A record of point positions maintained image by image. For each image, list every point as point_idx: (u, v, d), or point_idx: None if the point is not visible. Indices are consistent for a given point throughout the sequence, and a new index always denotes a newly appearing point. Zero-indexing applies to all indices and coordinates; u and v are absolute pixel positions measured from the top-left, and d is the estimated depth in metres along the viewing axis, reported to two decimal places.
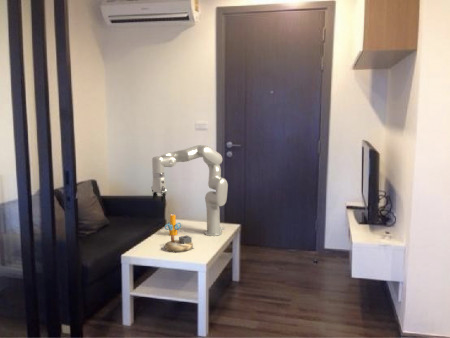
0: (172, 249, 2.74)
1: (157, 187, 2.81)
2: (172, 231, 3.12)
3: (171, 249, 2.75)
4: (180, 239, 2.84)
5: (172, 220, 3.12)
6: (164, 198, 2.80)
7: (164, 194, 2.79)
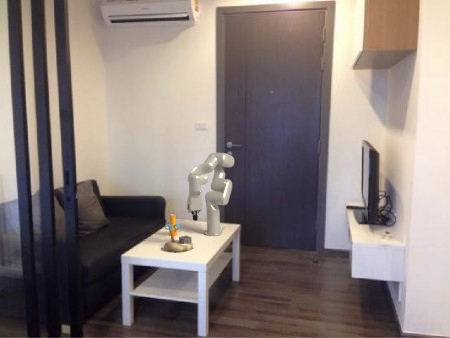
0: (172, 249, 2.74)
1: (199, 204, 2.87)
2: (172, 231, 3.12)
3: (171, 249, 2.75)
4: (180, 239, 2.84)
5: (172, 220, 3.12)
6: None
7: None
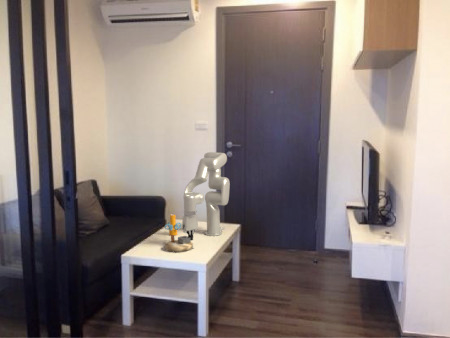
0: (172, 249, 2.74)
1: (194, 224, 2.86)
2: (172, 231, 3.12)
3: (171, 249, 2.75)
4: (179, 239, 2.84)
5: (172, 220, 3.12)
6: None
7: (193, 231, 2.89)
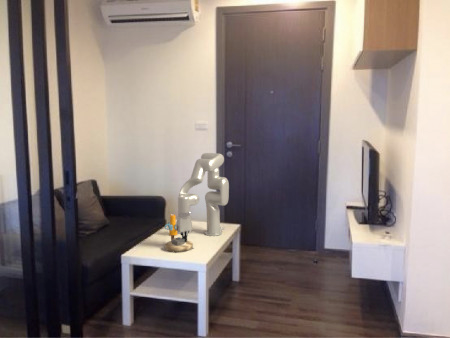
0: (172, 249, 2.74)
1: (188, 225, 2.83)
2: (172, 231, 3.12)
3: (171, 249, 2.75)
4: (173, 241, 2.80)
5: (172, 220, 3.12)
6: None
7: (187, 233, 2.86)
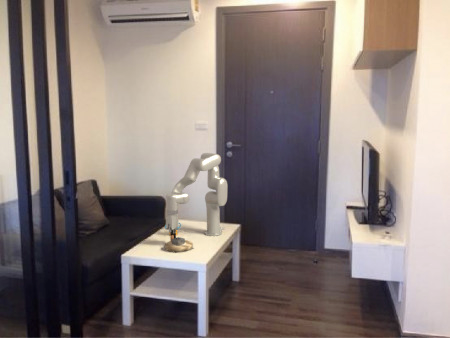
0: (173, 249, 2.74)
1: (177, 222, 2.91)
2: None
3: (172, 249, 2.74)
4: (173, 241, 2.80)
5: None
6: None
7: None
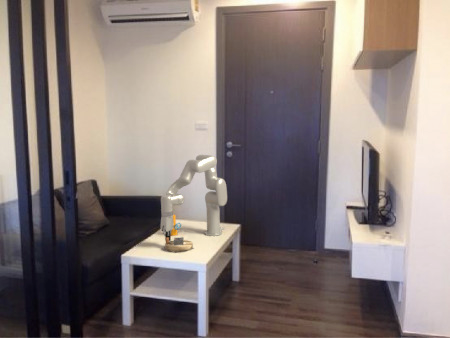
0: (183, 249, 2.74)
1: (172, 224, 2.86)
2: (172, 231, 3.12)
3: (181, 249, 2.74)
4: (176, 242, 2.79)
5: None
6: None
7: None
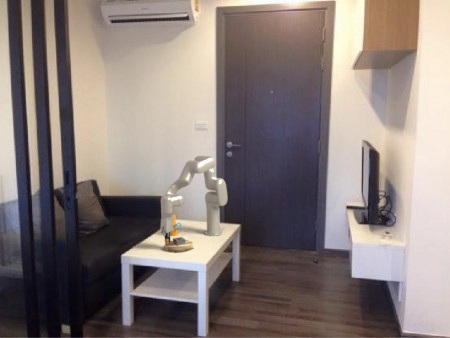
0: (188, 248, 2.77)
1: (171, 225, 2.83)
2: (172, 231, 3.12)
3: (187, 248, 2.76)
4: (179, 242, 2.79)
5: None
6: None
7: None
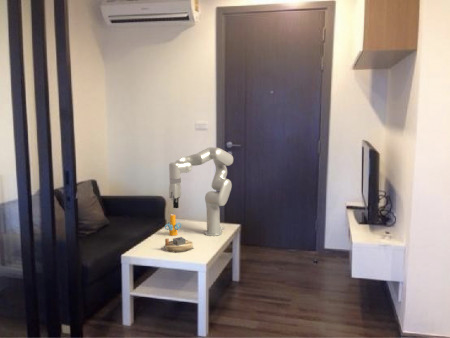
0: (188, 248, 2.77)
1: (180, 191, 2.89)
2: (172, 231, 3.12)
3: (187, 248, 2.76)
4: (179, 242, 2.79)
5: (172, 220, 3.12)
6: None
7: None
